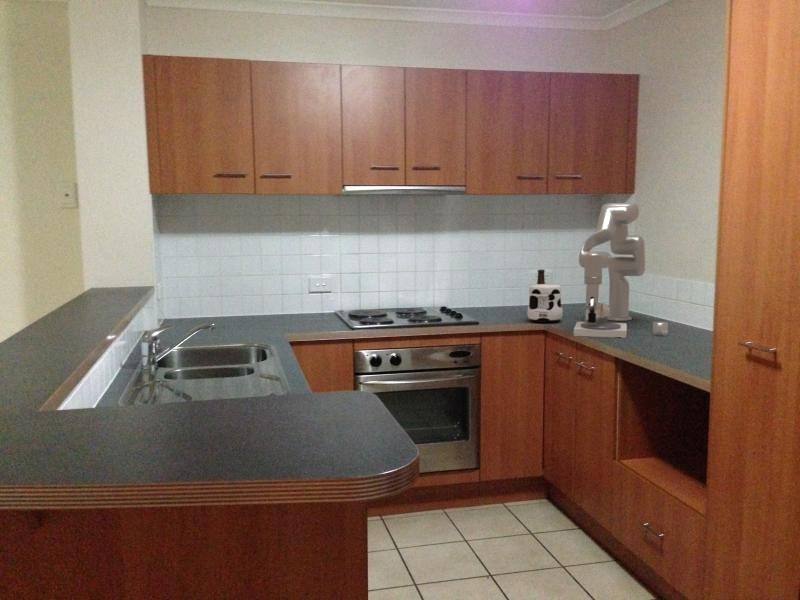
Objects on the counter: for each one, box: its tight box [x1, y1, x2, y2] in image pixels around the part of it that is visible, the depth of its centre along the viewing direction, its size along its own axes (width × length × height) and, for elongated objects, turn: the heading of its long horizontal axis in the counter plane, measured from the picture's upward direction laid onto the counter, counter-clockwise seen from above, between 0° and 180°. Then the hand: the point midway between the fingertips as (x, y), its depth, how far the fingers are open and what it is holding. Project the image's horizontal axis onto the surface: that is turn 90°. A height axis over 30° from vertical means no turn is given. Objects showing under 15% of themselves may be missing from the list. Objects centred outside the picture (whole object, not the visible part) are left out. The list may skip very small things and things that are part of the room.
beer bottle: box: [536, 269, 546, 284], centre depth 364 cm, size 8×8×24 cm
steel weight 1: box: [584, 308, 600, 323], centre depth 304 cm, size 6×6×6 cm
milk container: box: [526, 283, 564, 323], centre depth 339 cm, size 17×17×18 cm
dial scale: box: [573, 302, 628, 339], centre depth 304 cm, size 22×22×12 cm
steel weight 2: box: [652, 321, 669, 337], centre depth 297 cm, size 6×6×6 cm
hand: (592, 320), depth 304 cm, fingers closed on steel weight 1, 6 cm apart
